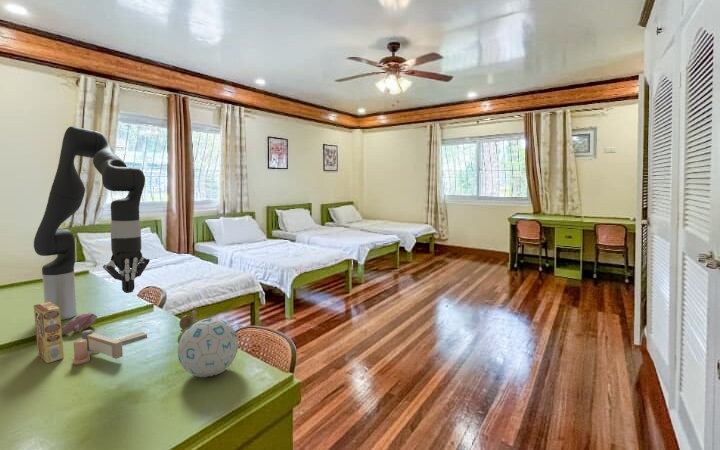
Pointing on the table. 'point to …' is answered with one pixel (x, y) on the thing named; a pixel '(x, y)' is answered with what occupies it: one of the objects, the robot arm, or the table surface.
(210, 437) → the table surface
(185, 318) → the snail figurine
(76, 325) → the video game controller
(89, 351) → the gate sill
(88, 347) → the beige wooden bar
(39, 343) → the candy box
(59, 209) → the robot arm
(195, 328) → the puzzle ball
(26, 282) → the table surface
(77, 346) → the peach rounded knob
